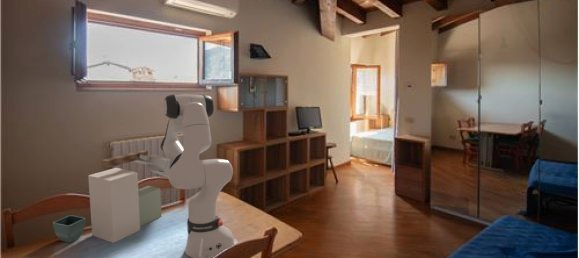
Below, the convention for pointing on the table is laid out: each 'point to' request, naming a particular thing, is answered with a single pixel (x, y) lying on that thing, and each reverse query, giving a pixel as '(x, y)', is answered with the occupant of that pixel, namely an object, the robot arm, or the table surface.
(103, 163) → the walnut bar
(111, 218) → the tall white pillar
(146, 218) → the step
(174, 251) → the table surface
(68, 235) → the flower pot
